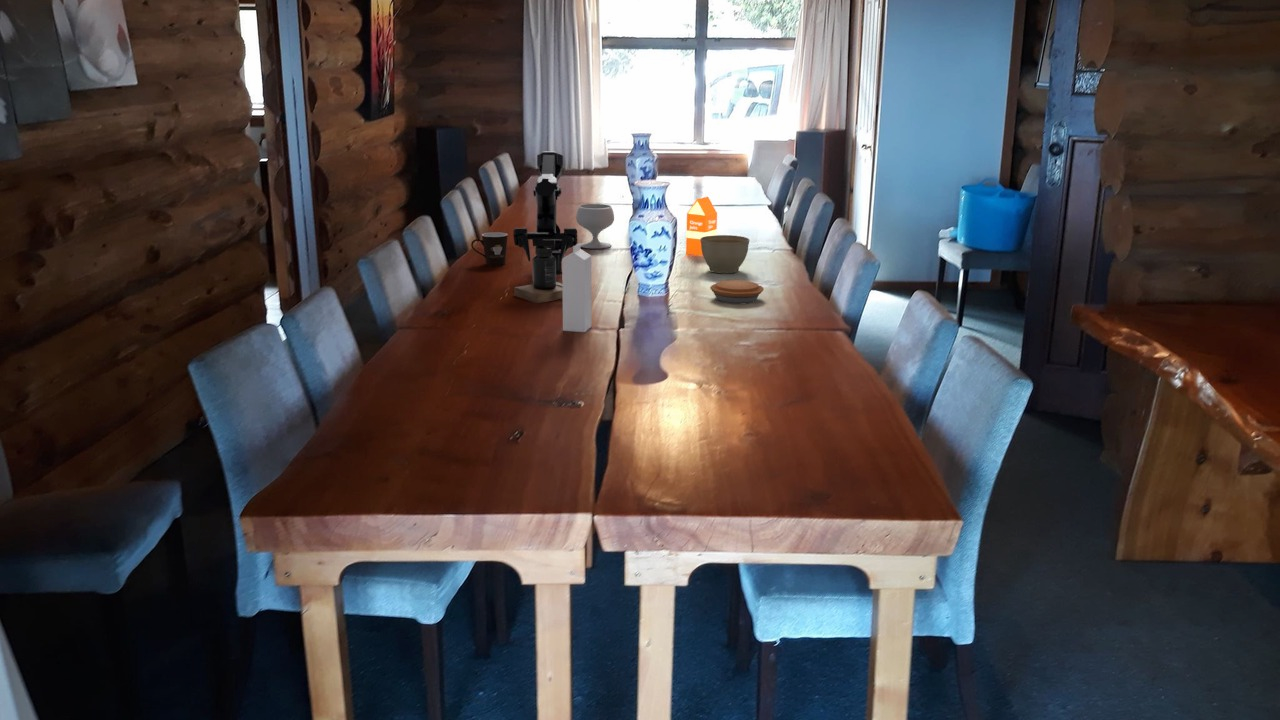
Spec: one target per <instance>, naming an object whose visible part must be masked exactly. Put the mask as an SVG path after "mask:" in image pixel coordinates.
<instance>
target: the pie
mask: <svg viewBox="0 0 1280 720" xmlns="http://www.w3.org/2000/svg"><path fill="white" fill-rule="evenodd" d="M709 289H710V290H711V291H712V292H713V295H714V296H715V298H716V300H718V302H721V303H726V304H733V305H734V304H735V305H742V304H741V303H746V304H751V303H754V302H755V301H756V300H757V299H758V298H759V295H760V294H762V293H763V291H764V289H765V288H764V287H763V286H761V285H759V284H758V283H756V282H753V281H748V280H740V279H735V280H734V279H730V280H728V279H727V280H721V281H717V282H715V283H714V284H712V285H711V286H710V287H709ZM753 301H754V302H753ZM750 302H751V303H750Z"/></svg>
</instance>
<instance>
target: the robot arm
mask: <svg viewBox="0 0 1280 720" xmlns="http://www.w3.org/2000/svg"><path fill="white" fill-rule="evenodd" d="M536 160H537V161H536V166H537V169H538V170H539V175H540V176H539V177H538V178H537V179H536V184H534V186H533V197H535V201H536V202H535V203H536V227H535V228H536V229H535V232H533V231H531V232H528V228H527V227H515V228H514V229H513V241H514V242H513V244H514V245H515V246H517V247H519V248H522V249H523V250H524V251H525V255H526V257H527V261H528V262H531V254H530V253H531V252H530V244H529V243H530V242H529V240H531V241H532V247H535V248H536V247H538V246H550V247H552V254H551V255H552V256H554V257H555V259H556V275H558V274H562V259H563V258H564V257H565V255H566V253H567V251H568V249H571V248H572V249H573V247H574V246H575V245H577V244H578V241H579V240H578V229H577V228H575V227H574V228H573V227H566V228H565V227H563V232H561V228H560V227H559V225H558V224H557V200H558V198H560V197H561V195H562V193H563V191H562V190H563V189H562V188H561V187H560V184H559V182H558V181H559V179H561V176H562V169H564V165H565V164H564V155H562V154H560V153H559V152H557V151H555V150H552V151H551V150H543V151H541V153H539V154H537V155H536Z"/></svg>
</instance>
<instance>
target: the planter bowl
mask: <svg viewBox="0 0 1280 720" xmlns="http://www.w3.org/2000/svg"><path fill="white" fill-rule="evenodd" d="M700 242H701V250H702V254H703V256H702V257H703V260H704V262H705V264H706V265H707V266H708V268H709V272H710V273H711V272H712V273H715V274H725V275H726V274H733V273H734V274H735V273H737V272H739V269H740V267H741V266H742V265H743V264H744V261H745V260H746V257H747V255H748V251H749V244H750V238H749V237H745V236H741V235H740V236H739V235H728V234H718V235H714V236H705V237H702V238H701V239H700Z"/></svg>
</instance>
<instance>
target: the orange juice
mask: <svg viewBox="0 0 1280 720" xmlns="http://www.w3.org/2000/svg"><path fill="white" fill-rule="evenodd" d="M717 226H718V212H717V211H716V208H715V207H714V204H713V203H712V202H711V199H710V198H709V196H704V197H701V198H696V200H695V201H694V202H693V204H692V205H691V207H690V208H689V210H688V211H687V212H686V230H685V231H686V232H685V233H686V236H685V238H686V239H685V240H686V241H685V242H686V243H685V255H688V254H694V255H693V256H696V255H702V256H701V257H703V254H702V250H701V242H700V239H701V238H702V237H705V236H714V235H717V233H718V231H717V230H718V228H717Z"/></svg>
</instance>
